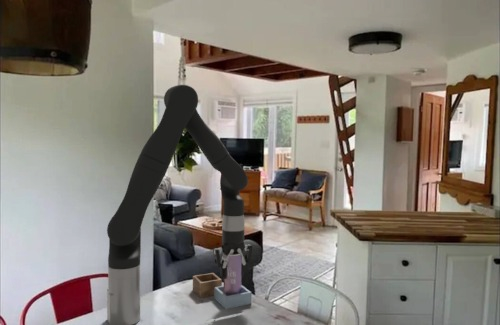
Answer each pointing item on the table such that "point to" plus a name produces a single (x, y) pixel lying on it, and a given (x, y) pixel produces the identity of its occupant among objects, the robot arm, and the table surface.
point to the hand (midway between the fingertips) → (232, 276)
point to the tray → (232, 297)
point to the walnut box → (206, 284)
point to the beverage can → (233, 275)
